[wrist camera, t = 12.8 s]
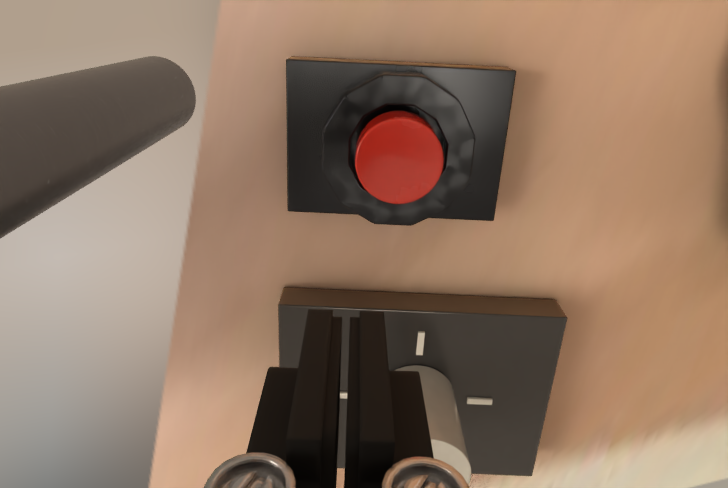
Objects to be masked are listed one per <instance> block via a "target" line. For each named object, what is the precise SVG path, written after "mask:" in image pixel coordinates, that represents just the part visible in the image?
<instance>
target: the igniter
mask: <svg viewBox="0 0 728 488" xmlns="http://www.w3.org/2000/svg"><path fill="white" fill-rule="evenodd" d="M515 76H516V71H515V70H513V69H511V68H508V67H501V66H480V65H460V64H440V63H420V62H400V61H380V60H360V59H340V58H319V57H299V56H291V57H290V58H288V59H286V95H287V195H288V211H295V212H316V213H338V214H358V215H360V216H362V217H363V218H365V219H367V220H368V221H370V222H372V223H374V224H389V225H410V226H411V225H414V224H416V223H418V222H420V221H422V220H424V219H427V218H444V219H465V220H486V221H493V220H494V215H495V209H496V202H497V195H498V189H499V182H500V175H501V169H502V162H503V156H504V149H505V142H506V136H507V129H508V122H509V116H510V109H511V103H512V96H513V89H514V83H515ZM389 111H407V112H411V113H414V114H416V115H418V116H420V117H422V118H423V119H424V120H425V121H427V122H428V123H429V125H430V126H431V127H432V128H433V130H434V132H435V134H436V136H437V137H438V139H439V141H440V144H441V146H442V150H443V156H444V164H443V170H442V173H441V176H440V178H439V180H438V182H437V183H436V185H435V186H434V187H433V189H432V190H431V191H430V192H429V193H428V194H426V195H425V196H423V197H422V198H420V199H418V200H416V201H413V202H410V203H405V204H392V203H387V202H384V201H381V200H379V199H377V198H375V197H374V196H372V195H371V194H370V193H369V192H368V191H366V189H365V188H364V187H363V186H362V184H361V182H360V181H359V178H358V176H357V173H356V168H355V155H356V145H357V141H358V138H359V136H360V134H361V132H362V130H363V129H364V127H365V126H366V125H367V124H368V123H369V122H370V121H371V120H372V119H374V118H375V117H377V116H378V115H381V114H383V113H386V112H389Z"/></svg>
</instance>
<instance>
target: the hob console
mask: <svg viewBox="0 0 728 488" xmlns="http://www.w3.org/2000/svg"><path fill="white" fill-rule="evenodd" d="M308 309H318V310H333V316H335V317H342V342H341V378H340V413H339V438H338V458H337V468H345V449H346V418H347V389H348V360H349V331H350V317H359V314H360V311H382V312H384V316H385V328H386V340H387V352H388V364H389V370H391V371H394V370H396V369H399V368H402V367H405V366H412V365H420V366H426V367H430V368H433V369H435V370H437V371H439V372H440V373H442V374H443V375H444V376H445V377H446V378H447V379H448V380H449V381H450V383H451V384H452V387H453V390H454V394H455V398H456V403H457V407H458V412H459V416H460V421H461V425H462V430H463V434H464V439H465V443H466V448H467V452H468V457H469V461H470V466H471V474H491V475H514V476H532V473H533V469H534V464H535V460H536V455H537V451H538V446H539V442H540V438H541V433H542V429H543V424H544V420H545V415H546V411H547V407H548V402H549V398H550V393H551V389H552V384H553V380H554V376H555V371H556V367H557V362H558V358H559V353H560V349H561V345H562V340H563V336H564V331H565V327H566V322H567V316H566V315H565V313H564V312H563V310H562V309H561V307H560V306H559V304H558V303H557V301H556V300H553V299H531V298H510V297H488V296H466V295H444V294H422V293H400V292H378V291H357V290H335V289H313V288H291V287H284V288H283V291H282V295H281V298H280V301H279V304H278V323H279V367H286V368H298V366H299V360H300V354H301V349H302V343H303V337H304V331H305V325H306V320H307V314H308Z"/></svg>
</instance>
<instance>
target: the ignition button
mask: <svg viewBox="0 0 728 488" xmlns="http://www.w3.org/2000/svg"><path fill="white" fill-rule="evenodd" d="M443 164H444V156H443V150H442V146H441V144H440V141H439V139H438V137H437V136H436V134H435V132H434V130H433V128H432V127H431V126H430V125H429V123H428V122H427V121H425V120H424V119H423V118H422V117H420V116H418V115H416V114H414V113H411V112H407V111H389V112H386V113H383V114H381V115H378V116H377V117H375V118H374V119H372V120H371V121H370V122H369V123H368V124H367V125H366V126H365V127H364V129H363V130H362V132H361V134H360V136H359V138H358V141H357V145H356V155H355V168H356V173H357V176H358V178H359V181H360V182H361V184H362V186H363V187H364V188H365V189H366V191H368V192H369V193H370V194H371V195H372V196H374V197H375V198H377V199H379V200H381V201H384V202H387V203H392V204H405V203H410V202H413V201H416V200H418V199H420V198H422V197H423V196H425V195H426V194H428V193H429V192H430V191H431V190H432V189H433V187H434V186H435V185H436V183H437V182H438V180H439V178H440V176H441V173H442V170H443Z"/></svg>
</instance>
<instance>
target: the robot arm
mask: <svg viewBox="0 0 728 488" xmlns="http://www.w3.org/2000/svg"><path fill="white" fill-rule="evenodd" d="M341 342H342V317H335V316H333V310H318V309H308V314H307V320H306V325H305V331H304V337H303V343H302V349H301V354H300V360H299V366H298V368H286V367H269V369H268V371H267V375H266V379H265V383H264V386H263V390H262V394H261V398H260V402H259V406H258V410H257V414H256V418H255V422H254V425H253V429H252V433H251V437H250V441H249V445H248V449H247V453H246V454H242V455H238V456H236V457H233V458H231V459H229V460H227V461H225V462H224V463H223V464H221V465H220V466H219V467H218V468H216V469H215V470H214V472H213V473H212V474H211V476H210V477H209V479H208V480H207V482H206V484H205V486H204V488H336V479H337V458H338V438H339V413H340V378H341ZM344 488H469V485H468V484H467V482H466V481H465V479H464V477H463V476H462V475H461V474H460V473H459V472H458V471H457V470H456V469H455V468H454V467H453V466H451V465H449V464H447V463H445V462H443V461H441V460H438V459H434V456H433V450H432V444H431V438H430V432H429V426H428V420H427V414H426V408H425V402H424V396H423V390H422V384H421V379H420V374H419V372H418V371H391V370H389V364H388V352H387V340H386V328H385V316H384V312H382V311H360V314H359V317H350V331H349V360H348V389H347V418H346V449H345V481H344Z"/></svg>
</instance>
